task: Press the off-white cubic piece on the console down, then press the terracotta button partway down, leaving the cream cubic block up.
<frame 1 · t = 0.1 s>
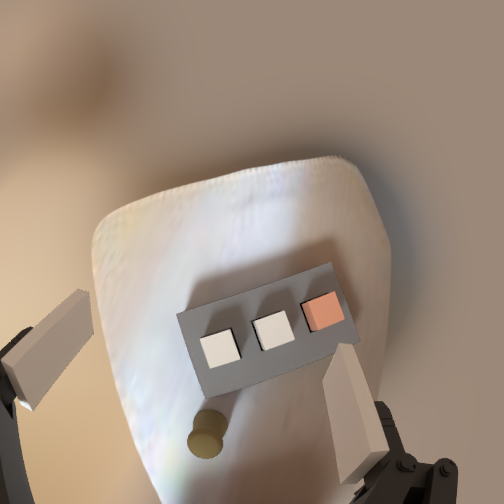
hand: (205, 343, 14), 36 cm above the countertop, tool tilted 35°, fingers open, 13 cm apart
cork: (210, 424, 44), on the countertop
cream cubic block: (273, 330, 41), point 8 cm above the countertop, slide at 0.0 cm
terracotta button: (322, 311, 42), point 8 cm above the countertop, slide at 0.0 cm
off-white cubic piece: (220, 348, 40), point 8 cm above the countertop, slide at 0.0 cm
console: (267, 331, 49), on the countertop
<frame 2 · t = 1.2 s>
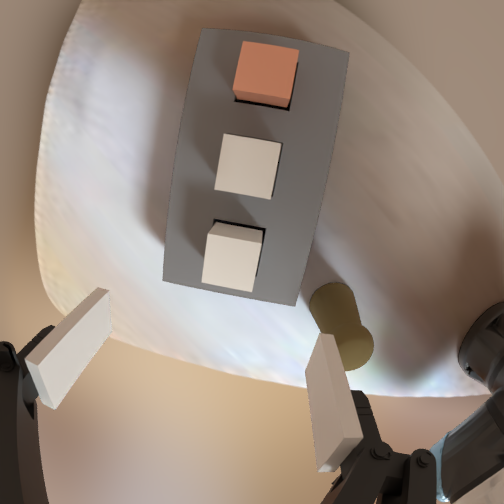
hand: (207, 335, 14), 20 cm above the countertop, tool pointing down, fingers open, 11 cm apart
cork: (332, 303, 36), on the countertop
cream cubic block: (249, 165, 23), point 8 cm above the countertop, slide at 0.0 cm
terracotta button: (266, 75, 21), point 8 cm above the countertop, slide at 0.0 cm
off-white cubic piece: (233, 255, 26), point 8 cm above the countertop, slide at 0.0 cm
console: (253, 163, 31), on the countertop
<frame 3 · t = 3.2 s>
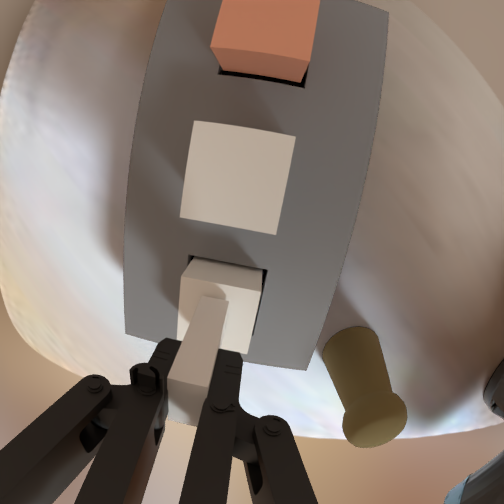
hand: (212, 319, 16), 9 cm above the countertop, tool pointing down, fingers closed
cork: (351, 350, 27), on the countertop
cream cubic block: (239, 174, 14), point 8 cm above the countertop, slide at 0.0 cm
terracotta button: (268, 30, 11), point 8 cm above the countertop, slide at 0.0 cm
off-white cubic piece: (220, 301, 18), point 7 cm above the countertop, slide at 1.5 cm, touching gripper
console: (249, 167, 22), on the countertop
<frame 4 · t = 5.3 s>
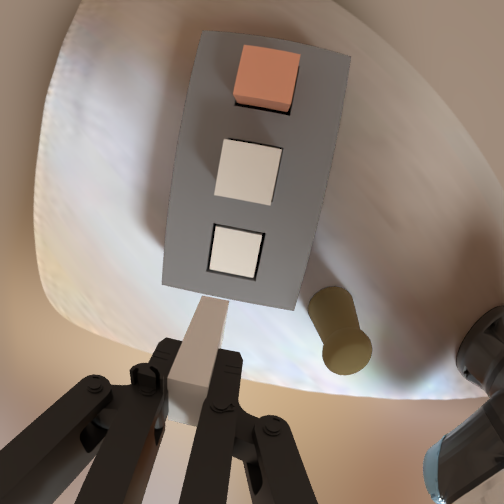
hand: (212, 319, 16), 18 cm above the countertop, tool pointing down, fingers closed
cork: (330, 306, 36), on the countertop
cream cubic block: (248, 170, 23), point 8 cm above the countertop, slide at 0.0 cm
terracotta button: (267, 79, 21), point 8 cm above the countertop, slide at 0.0 cm
off-white cubic piece: (237, 246, 30), point 4 cm above the countertop, slide at 4.1 cm
console: (253, 166, 31), on the countertop
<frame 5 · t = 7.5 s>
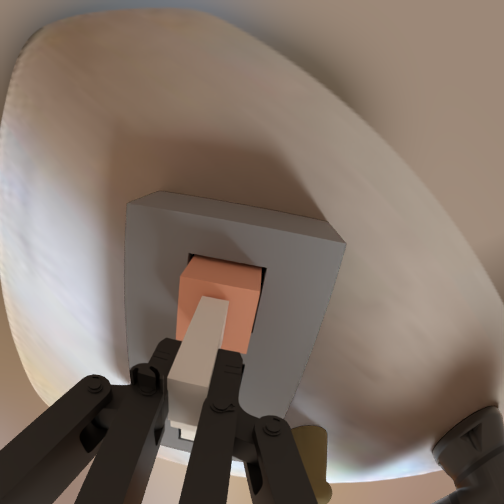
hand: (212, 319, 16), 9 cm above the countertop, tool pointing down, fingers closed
cork: (304, 436, 32), on the countertop
cream cubic block: (205, 397, 20), point 8 cm above the countertop, slide at 0.0 cm
terracotta button: (219, 301, 18), point 7 cm above the countertop, slide at 1.2 cm, touching gripper
off-white cubic piece: (206, 417, 26), point 4 cm above the countertop, slide at 4.1 cm
console: (220, 338, 27), on the countertop
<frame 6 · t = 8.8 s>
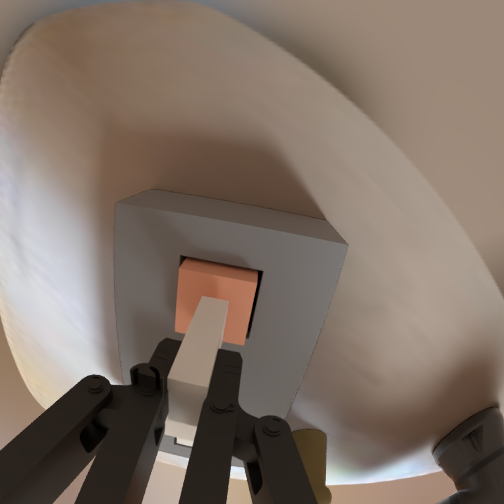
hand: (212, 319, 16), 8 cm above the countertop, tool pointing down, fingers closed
cork: (303, 440, 31), on the countertop
cream cubic block: (199, 405, 18), point 8 cm above the countertop, slide at 0.0 cm
terracotta button: (217, 293, 18), point 5 cm above the countertop, slide at 2.8 cm
off-white cubic piece: (202, 422, 25), point 4 cm above the countertop, slide at 4.1 cm
console: (215, 341, 26), on the countertop
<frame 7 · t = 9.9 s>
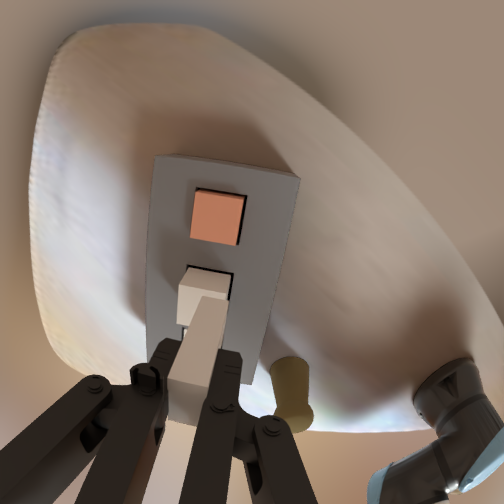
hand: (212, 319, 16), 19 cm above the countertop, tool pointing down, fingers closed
cork: (289, 370, 42), on the countertop
cream cubic block: (203, 299, 28), point 8 cm above the countertop, slide at 0.0 cm
terracotta button: (218, 214, 28), point 5 cm above the countertop, slide at 2.8 cm
off-white cubic piece: (204, 337, 35), point 4 cm above the countertop, slide at 4.1 cm
console: (216, 267, 36), on the countertop
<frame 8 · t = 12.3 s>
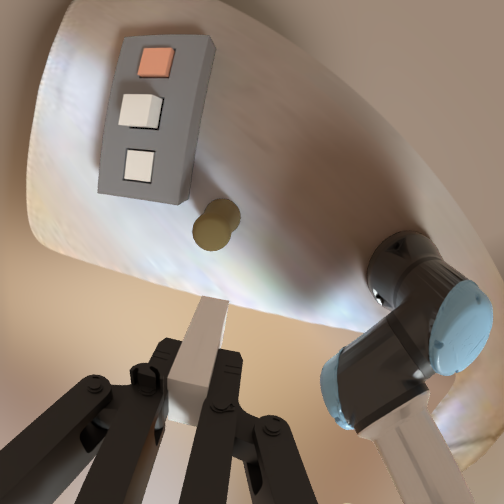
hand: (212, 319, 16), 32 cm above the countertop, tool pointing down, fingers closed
cork: (222, 216, 47), on the countertop
cream cubic block: (140, 111, 34), point 8 cm above the countertop, slide at 0.0 cm
terracotta button: (158, 64, 34), point 5 cm above the countertop, slide at 2.8 cm
off-white cubic piece: (143, 164, 41), point 4 cm above the countertop, slide at 4.1 cm
console: (160, 117, 42), on the countertop
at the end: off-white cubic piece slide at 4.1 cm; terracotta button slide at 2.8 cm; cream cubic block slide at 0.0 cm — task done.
